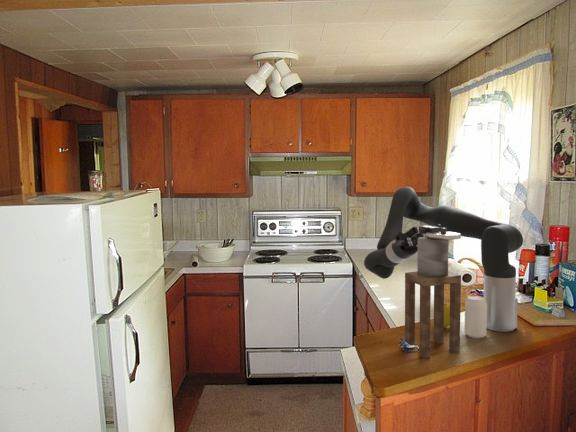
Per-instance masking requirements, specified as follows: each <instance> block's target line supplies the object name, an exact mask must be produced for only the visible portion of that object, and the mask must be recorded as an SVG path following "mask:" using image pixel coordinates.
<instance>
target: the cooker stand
mask: <svg viewBox="0 0 576 432" xmlns="http://www.w3.org/2000/svg"><path fill="white" fill-rule="evenodd" d="M404 278H405V279H404V343H405V342H407V343H408V344H410V345H415V344H416V337H415V336H416V335H415V334H416V285H418V286H419V343H418V344H419V357H420V358H421V359H430V358H431V308H432V306H431V304H432V303H431V299H432V297H431V295H432V294H431V290H432V289H431V287H433V343H435V344H436V345H441V344H444V335H445V334H444V329H445V328H444V304H445V285H449V306H450V326H449V327H448V328H449V331H448V332H449V335H448V337H449V338H448V339H449V342H448V343H449V344H448V346H449V347H448V351H450V352H451V353H453V354H456V353H457V354H458V353H460V352H461V301H462V300H461V299H462V296H461V295H462V290H461V289H462V275H461V274H458V273H455V272H452V271H451V272H450V271H449V240H440V239H430V238H427V237H425V236H424V237H420V238H418V251H417V269H416V271H407V272H404ZM415 346H416V345H415Z"/></svg>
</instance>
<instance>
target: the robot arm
mask: <svg viewBox="0 0 576 432" xmlns="http://www.w3.org/2000/svg"><path fill="white" fill-rule="evenodd" d="M404 218H405V219H409V220H413V221H416V222H420V223H422V224H423V223H424V224H425V225H428V226H434V227H440V228H446V232H455V233H460V234H461V237H464V238H471V239H477V240H479V241H480V250H481V252H480V253H481V254H480V255H481V257H480V258H481V265H482V268H483V272H484V273H483V297H484V298H485V301H486V303H487V329H486V330H490V331H493V332H494V331H495V332H501V333H503V332H504V333H506V332H513V331H515V329H517V328H518V305H519V304H518V303H519V302H518V298H516V289H517V287H516V285H517V284H516V281H517V280H516V279H517V268H516V267H515V266H514V265H513V264H510V261H509V260H510V259H509V256H510V255H509V254H511V253H514V252H516V251H518V250H519V249H520V248H521V247H522V245H523V243H524V237H523V235H522V232H521V231H520V230H519V229H518V228H517V227H515V226H514V225H512V224H509V223H508V224H507V223H503V222H498V221H495V220H491V219H487V218H485V217H484V218H483V217H481V216H478V215H476V214H474V213H471V212H468V211H466V210H463V209H460V208H458V207H454V206H451V205H448V204H441V205H437V206H435V207H431V206H428V205H426V204H424V203H422V202H421V201H420V199H419V196H418V195H417V192H416V191H415V189H413V188H412V187H411V186H403V187H400V188H398V189H397V190H396V191H395V192H394V193H393V196H392V199H391V203H390V208H389V212H388V216H387V218H386V223H385V226H384V227H383V228H384V229H383V232H382V233H381V236H380V238H379V240H378V241H377V246H376V250H374V251H371V252H369V253H368V254H367V255H366V256H365V257H364V261H363V265H364V268H365V269H366V270H368V271H369V272H371V273H373V274H374V275H375V276H377V277H379V278H381V279H382V280H386V279H388V278H390V277H391V276H392V274H393V272H394V271H395V270H394V269H395V267H396V266H398V265H399V264H401V263H402V262H405V261H407V260H408V259H409V258H411V257H413V256H414V255H415V254H417V253H418V238H420V237H426V234H423V233H419V228H418V227H417V226H412V227H411V228H410V229H409V230H405V231H404V232H403V225H404ZM424 235H425V236H424Z"/></svg>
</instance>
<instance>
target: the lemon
mask: <svg viewBox="0 0 576 432" xmlns="http://www.w3.org/2000/svg"><path fill="white" fill-rule="evenodd" d="M449 327H450V305H448V304H446V303H444V329H447V328H449Z"/></svg>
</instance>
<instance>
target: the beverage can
mask: <svg viewBox="0 0 576 432" xmlns="http://www.w3.org/2000/svg"><path fill="white" fill-rule="evenodd" d="M487 330H488V329H487V303H486V301H485V298H484V296H481V295H468V296H467V298H466V300H465V302H464V334H465V335H467V336H468V337H469V338H472V339H482V338H484V337H486V336H487Z"/></svg>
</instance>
